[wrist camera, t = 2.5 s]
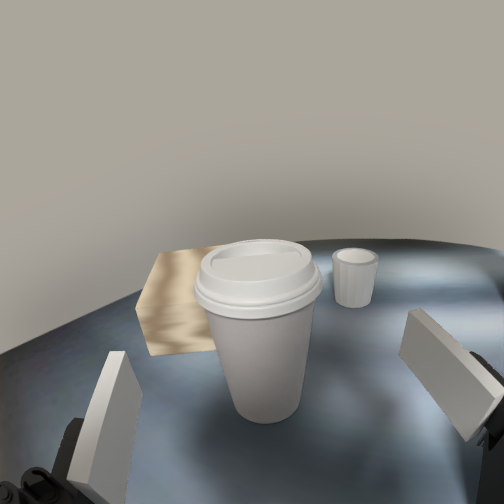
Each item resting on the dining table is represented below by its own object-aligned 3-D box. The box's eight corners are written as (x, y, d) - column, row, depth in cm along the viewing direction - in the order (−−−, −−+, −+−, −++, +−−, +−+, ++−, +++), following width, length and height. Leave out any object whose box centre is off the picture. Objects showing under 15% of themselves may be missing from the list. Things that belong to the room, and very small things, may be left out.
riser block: (269, 277, 52) (266, 240, 50) (294, 338, 35) (294, 289, 33) (167, 290, 51) (159, 252, 48) (150, 355, 34) (135, 307, 31)
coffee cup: (322, 372, 29) (328, 237, 24) (305, 444, 21) (313, 294, 16) (238, 361, 32) (221, 234, 27) (202, 423, 24) (162, 280, 19)
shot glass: (331, 287, 47) (332, 246, 44) (372, 288, 45) (375, 247, 43) (330, 309, 41) (332, 264, 38) (377, 310, 39) (382, 265, 37)
